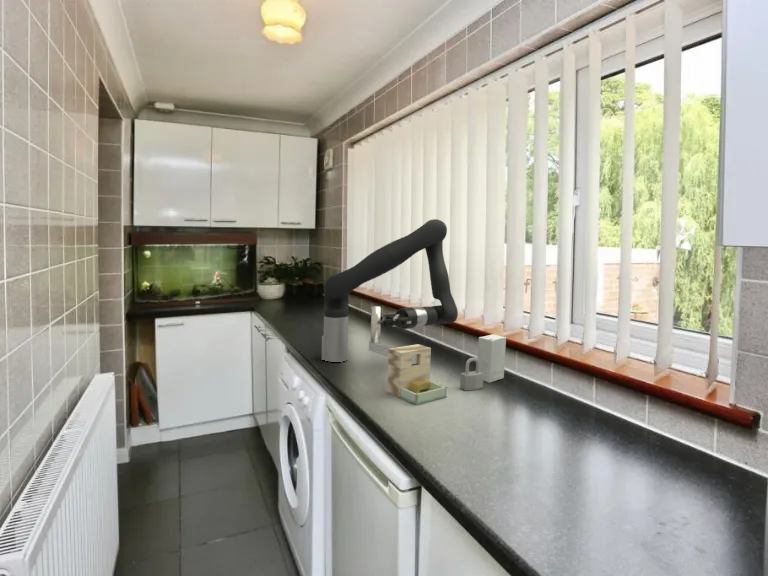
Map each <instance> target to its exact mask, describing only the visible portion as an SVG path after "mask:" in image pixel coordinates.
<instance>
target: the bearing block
mask: <svg viewBox="0 0 768 576" xmlns="http://www.w3.org/2000/svg"><path fill="white" fill-rule="evenodd" d="M396 347H397V346H396ZM431 351H432V348H431V347H430V346H426V345H423V344H418V343H416V344H411V345H404V346H398V347H397V348H390V349H389V353H388V357H387V361H388V362H387V389H386V391H387V393H389V394H392V395H393V396H396V397H398V398H400V395H401V388H404V389H407V390H409V391H410V382H411V381H415V380H419V379H425V380H427V381H431V380H430V378H431V356H432V353H431ZM415 354H418V362H417V364H412V365H411V363H412V355H415Z"/></svg>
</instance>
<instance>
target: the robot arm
mask: <svg viewBox="0 0 768 576" xmlns="http://www.w3.org/2000/svg"><path fill="white" fill-rule="evenodd" d="M447 232H448V227H447V225H446V223H445V222H443V221H442V220H440V219H437V218H436V219H435V218H433V219H429V220H428V221H426V222H424V224H422V225H421V226H420V227H418V228H417V229H415V230H414V231H412V232H411V233H409V234H407V235H405V236H403V237H401V238H398V239H395V240H393V241H391V242H389V243H388V244H385V245H383V246H382V247H380V248H378V249H376V250H374V251H372V252H371V253H370V254H368V255H367V256H366V257H364V258H363V259H362V260H360V261H359V262H358V263H357V264H356V265H354V266H352V267H350V268H348V269H345V270H344V271H341V272H339V273H335V272H334V273H331V274H330V275H328V276H327V278H326V279H325V281H324V286H323V287H324V288H323V289H324V295H323V297H324V298H323V299H324V300H323V301H324V302H323V303H324V304H323V305H324V306H323V335H321V361H322V360H325V361H324V362H326V361H330V362H341V363H344V362H343V361H345V362H347V361H348V356H349V355H348V351H349V349H348V345H349V295H350V293H352V291H354V290H355V289H357V288H358V287H360V286H361V285H363V284H365V283H367V282H369V281H371V280H374V279H376V278H379V277H380V276H382V275H384V274H386V273H388V272H390V271H392V270H394V269H396V268H397V267H399V266H400V265H402V264H403V263H404V262H406V261H407V260H409V259H411V257H412V256H414V255H416V254H417V253H418V252H420V251H422V250H425V253H426V257H427V262H428V271H429V277H430V278H429V279H430V286H431V294H432V297H433V299H434V300H438V301H439V302H440V305H439V304H438V305H431V306H410V307H409V306H408V307H401V308H399V309H398V310H397V311H396V312H391V313H389V312H381V326H382V327H383V328H387V327H397V328H400V329H401V330H407V329H408V330H409V329H415V328H416V329H417V328H421V327H425V326H426V327H427V326H432V325H435V324H437V325H439V324H453V323H455V322H456V321H457V319H458V315H459V314H458V313H459V312H458V306H457V304H456V302H455V299H454V296H453V294H452V292H451V291H452V290H451V284H450V277H449V273H448V269H447V266H446V263H445V257H444V250H443V248H444V247H443V241H444V240H445V238H446V237H447ZM366 321H367V323H369V324H371V315H368V316H367V320H366ZM346 360H347V361H346ZM330 362H329V363H330Z"/></svg>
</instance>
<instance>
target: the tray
mask: <svg viewBox="0 0 768 576" xmlns="http://www.w3.org/2000/svg"><path fill="white" fill-rule="evenodd" d="M430 382H431V383H430V391H427V392H421V391H420V393H418V394H416V393H414V392H411V391H409V390H407V389H404V388H401V395H400V397H399V398H400V399H402V400H404V401H406V402H409V403H411V404H413V405H415V406H418V405H422V404H425V403H430V402H433V401H437V400H440V399H444V398H447V389H448V388H447V387H446V386H443V385H441V384H438V383H436V382H433V381H432V380H430Z"/></svg>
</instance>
